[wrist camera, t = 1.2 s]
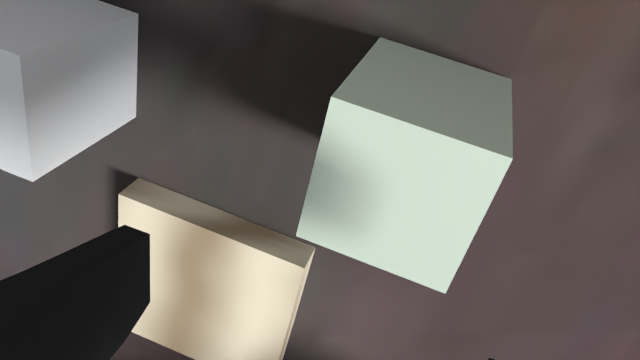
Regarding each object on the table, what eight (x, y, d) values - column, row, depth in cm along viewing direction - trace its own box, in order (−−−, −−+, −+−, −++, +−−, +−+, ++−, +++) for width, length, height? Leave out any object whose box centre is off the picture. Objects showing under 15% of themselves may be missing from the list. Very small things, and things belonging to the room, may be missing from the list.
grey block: (139, 13, 20) (19, 55, 15) (136, 116, 23) (33, 181, 18) (38, -21, 21) (-108, 10, 16) (46, 83, 23) (-78, 137, 18)
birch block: (318, 241, 24) (304, 268, 22) (283, 362, 28) (269, 392, 27) (144, 173, 25) (118, 194, 23) (139, 300, 30) (117, 325, 28)
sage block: (511, 78, 17) (512, 158, 12) (461, 190, 20) (445, 293, 15) (380, 37, 18) (331, 96, 13) (347, 149, 20) (296, 235, 15)
